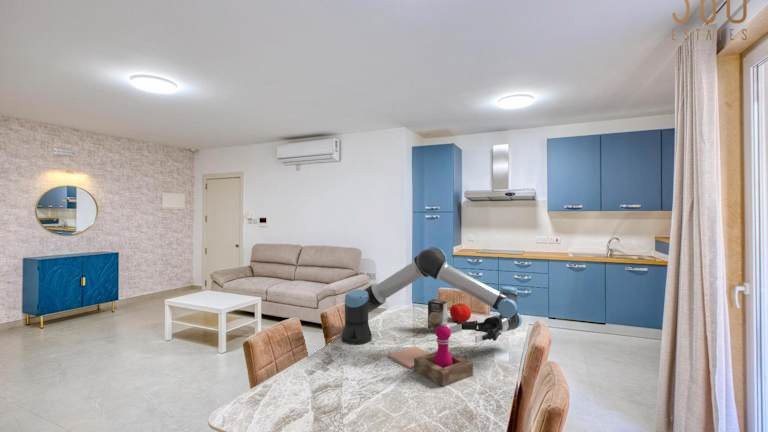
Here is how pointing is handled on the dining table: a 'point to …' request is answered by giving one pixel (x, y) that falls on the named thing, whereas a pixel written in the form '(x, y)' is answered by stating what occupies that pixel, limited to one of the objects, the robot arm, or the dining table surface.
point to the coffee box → (436, 314)
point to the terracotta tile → (407, 356)
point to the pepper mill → (443, 346)
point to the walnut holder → (443, 369)
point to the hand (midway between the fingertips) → (462, 334)
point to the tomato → (460, 312)
